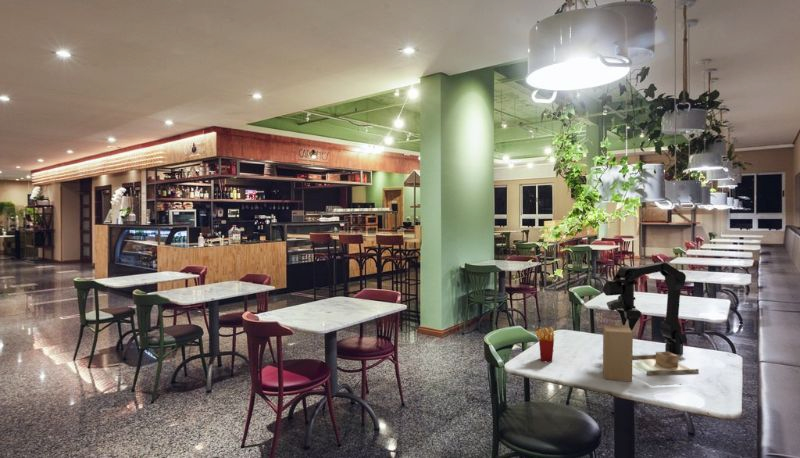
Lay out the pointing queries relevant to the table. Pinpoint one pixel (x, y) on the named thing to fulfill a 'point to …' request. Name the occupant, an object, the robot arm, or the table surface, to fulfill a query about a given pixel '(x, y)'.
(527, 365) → the table surface
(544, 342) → the french fries
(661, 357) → the walnut block
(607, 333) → the wooden block
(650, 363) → the trap board
